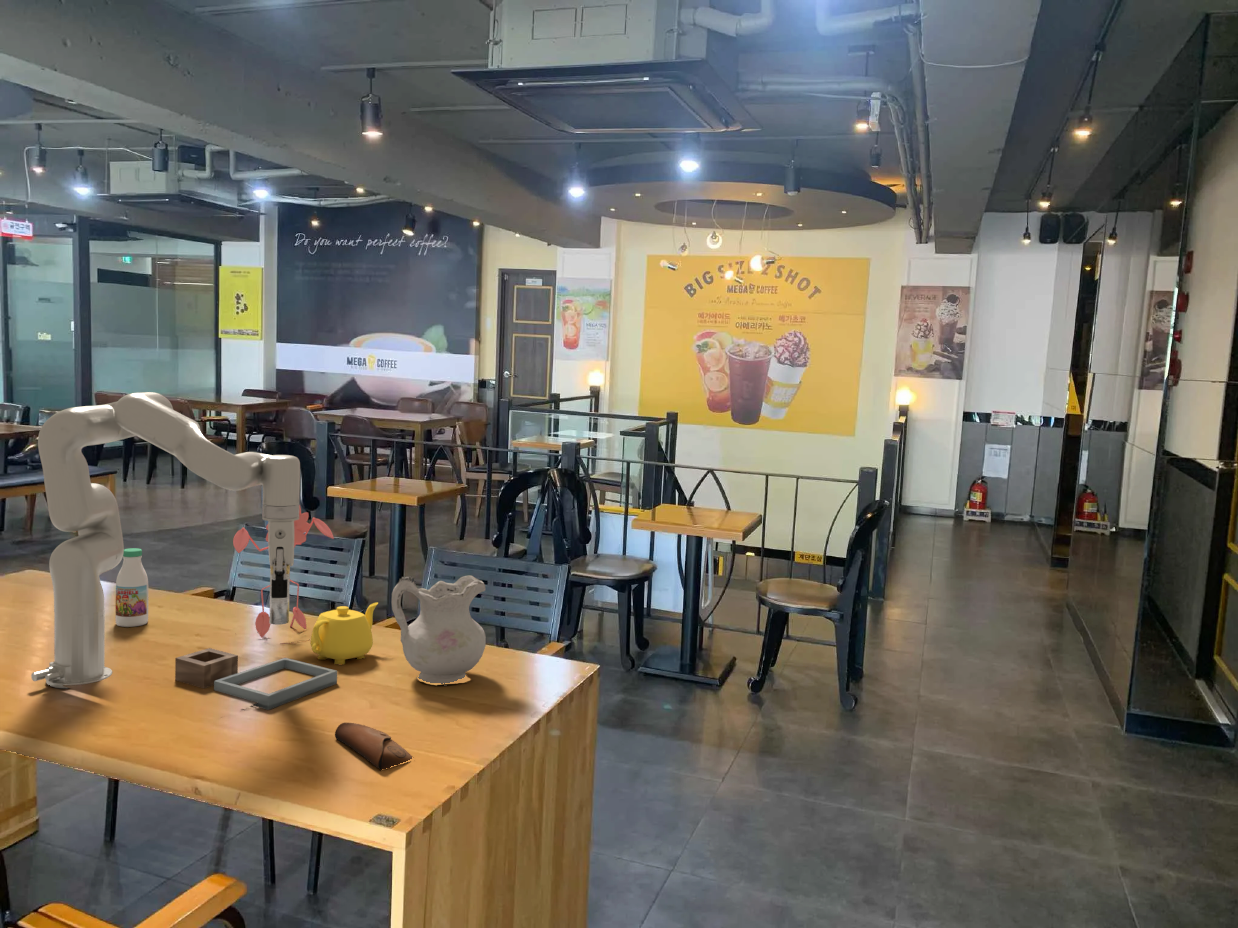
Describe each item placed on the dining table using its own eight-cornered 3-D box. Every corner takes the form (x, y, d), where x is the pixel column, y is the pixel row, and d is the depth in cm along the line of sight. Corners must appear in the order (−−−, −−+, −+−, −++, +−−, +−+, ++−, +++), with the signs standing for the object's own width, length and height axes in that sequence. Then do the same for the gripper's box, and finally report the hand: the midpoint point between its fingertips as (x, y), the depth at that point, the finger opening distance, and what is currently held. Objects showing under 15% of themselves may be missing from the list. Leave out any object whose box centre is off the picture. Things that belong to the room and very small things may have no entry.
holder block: (203, 692, 203) (204, 665, 202) (175, 684, 206) (175, 657, 206) (237, 681, 211) (237, 655, 210) (209, 673, 215) (209, 647, 214)
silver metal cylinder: (278, 625, 203) (279, 566, 202) (265, 622, 205) (266, 564, 204) (292, 621, 207) (293, 563, 205) (279, 618, 209) (280, 561, 207)
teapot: (294, 659, 228) (295, 608, 227) (358, 642, 244) (360, 594, 243) (331, 672, 220) (333, 619, 219) (395, 653, 237) (397, 604, 236)
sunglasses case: (420, 760, 175) (404, 734, 172) (390, 786, 171) (374, 761, 168) (373, 729, 188) (358, 705, 185) (344, 753, 184) (328, 729, 181)
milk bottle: (118, 619, 252) (119, 546, 250) (150, 619, 254) (151, 546, 252) (112, 627, 244) (112, 552, 242) (145, 627, 247) (145, 552, 245)
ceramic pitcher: (406, 702, 207) (414, 594, 203) (377, 669, 223) (384, 568, 219) (495, 689, 219) (504, 586, 215) (461, 658, 235) (469, 562, 231)
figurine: (224, 636, 242) (228, 502, 238) (317, 621, 261) (322, 497, 257) (250, 652, 232) (255, 513, 228) (345, 635, 250) (351, 506, 246)
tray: (268, 709, 195) (268, 695, 195) (213, 694, 202) (214, 680, 202) (336, 683, 213) (337, 670, 213) (284, 669, 220) (285, 657, 219)
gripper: (299, 518, 197) (297, 604, 199) (299, 506, 212) (297, 585, 214) (260, 518, 194) (259, 605, 196) (263, 506, 210) (262, 586, 212)
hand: (279, 594), depth 205 cm, fingers closed on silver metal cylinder, 4 cm apart
